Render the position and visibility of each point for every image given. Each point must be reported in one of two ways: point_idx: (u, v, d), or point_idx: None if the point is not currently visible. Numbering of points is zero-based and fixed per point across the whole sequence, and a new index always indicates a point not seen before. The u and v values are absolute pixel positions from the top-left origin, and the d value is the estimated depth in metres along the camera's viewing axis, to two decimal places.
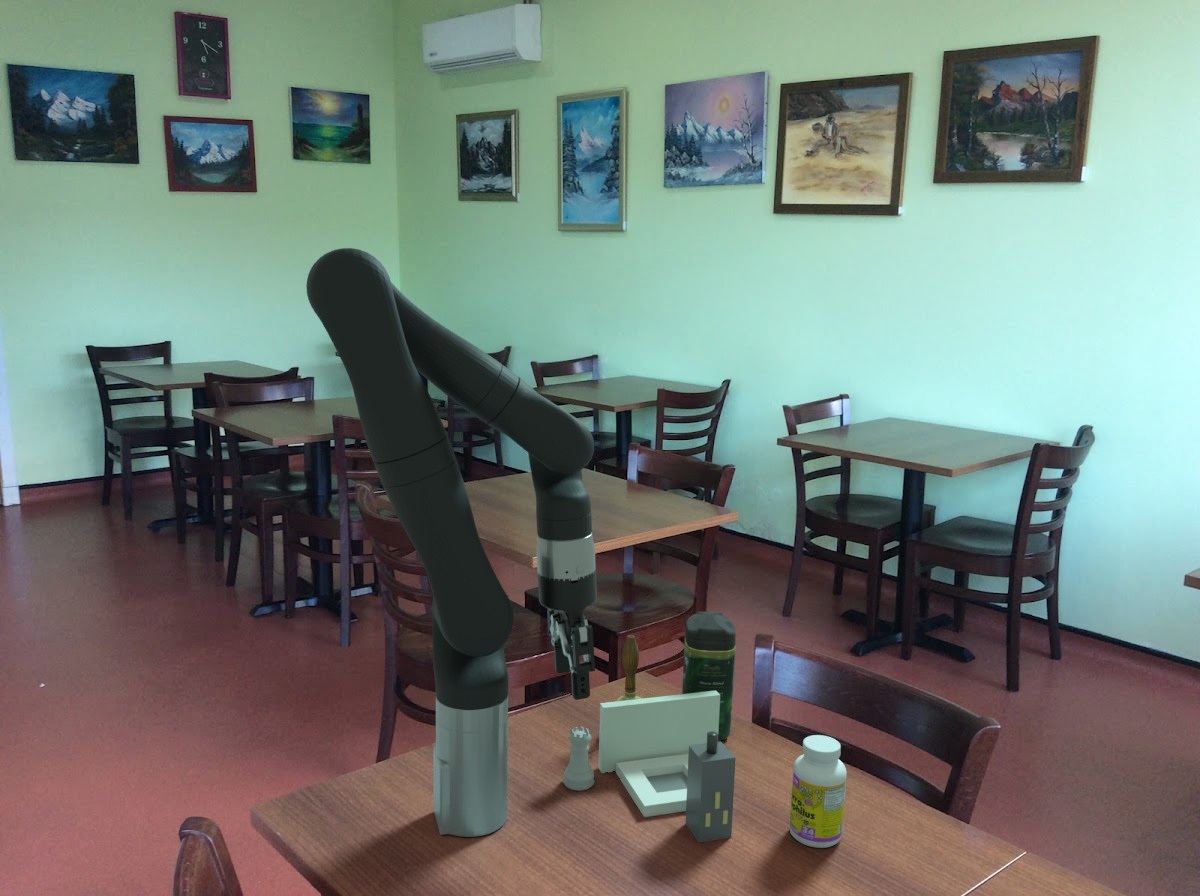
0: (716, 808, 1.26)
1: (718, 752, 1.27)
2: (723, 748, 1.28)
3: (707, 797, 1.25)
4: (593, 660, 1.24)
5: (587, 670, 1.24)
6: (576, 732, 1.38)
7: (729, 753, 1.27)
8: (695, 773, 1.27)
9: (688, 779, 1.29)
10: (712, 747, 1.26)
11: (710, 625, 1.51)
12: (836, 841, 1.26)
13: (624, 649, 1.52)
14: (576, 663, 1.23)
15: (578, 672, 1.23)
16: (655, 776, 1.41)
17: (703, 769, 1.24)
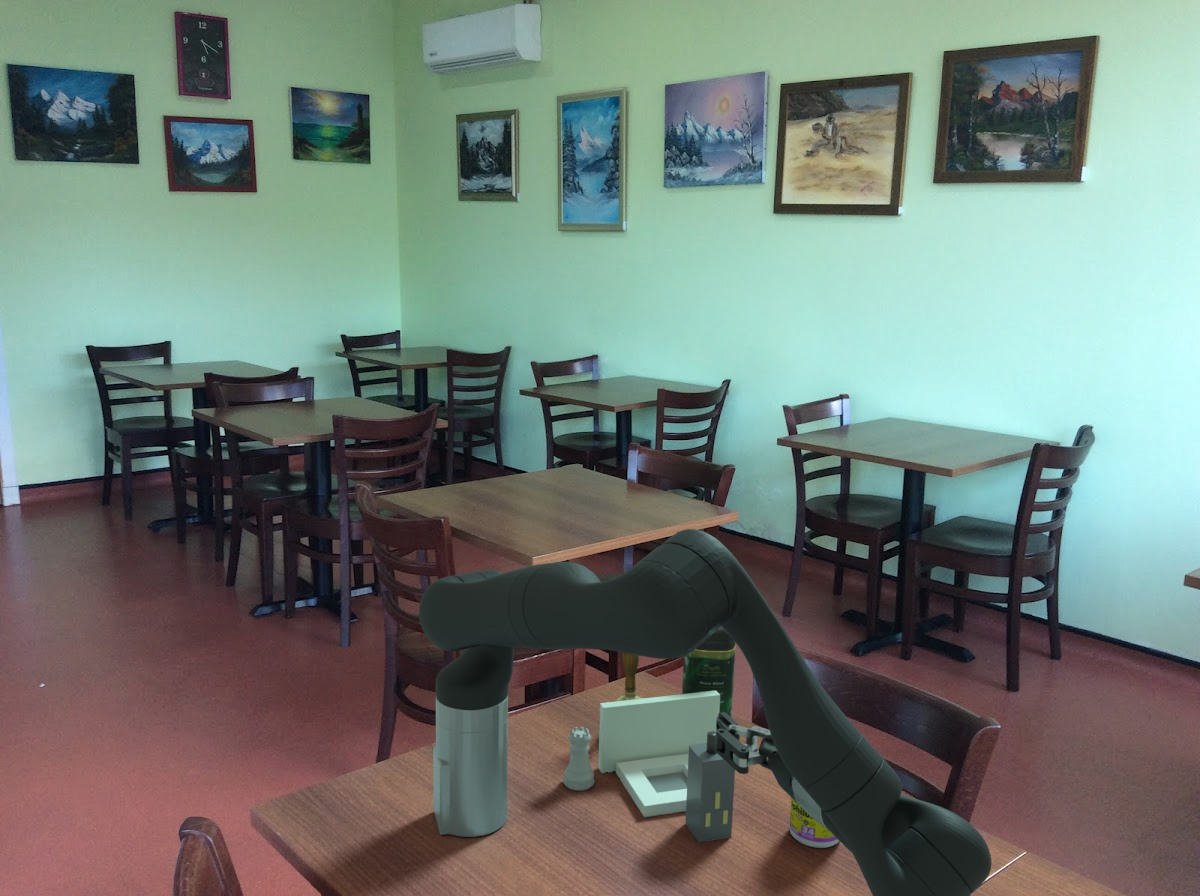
0: (716, 808, 1.26)
1: None
2: None
3: (707, 797, 1.25)
4: (720, 755, 1.08)
5: (716, 743, 1.09)
6: (576, 732, 1.38)
7: None
8: (695, 773, 1.27)
9: (688, 779, 1.29)
10: (712, 747, 1.26)
11: None
12: (836, 841, 1.26)
13: None
14: (721, 736, 1.08)
15: (716, 733, 1.09)
16: (655, 776, 1.41)
17: (703, 769, 1.24)
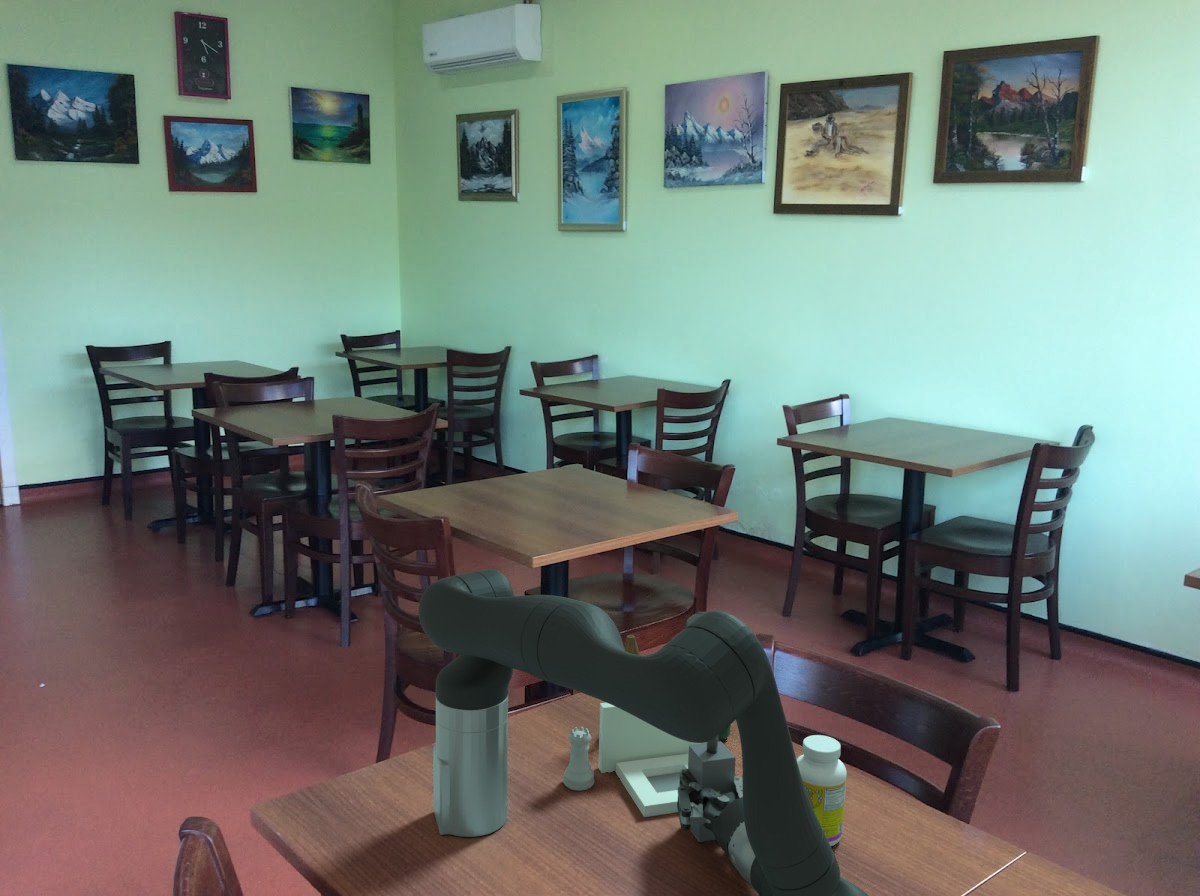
0: None
1: (718, 751, 1.27)
2: (723, 748, 1.28)
3: None
4: None
5: None
6: (576, 732, 1.38)
7: (729, 753, 1.27)
8: (695, 773, 1.27)
9: None
10: (712, 747, 1.26)
11: None
12: (836, 841, 1.26)
13: None
14: (679, 793, 1.23)
15: (678, 789, 1.24)
16: (655, 776, 1.41)
17: (703, 768, 1.24)
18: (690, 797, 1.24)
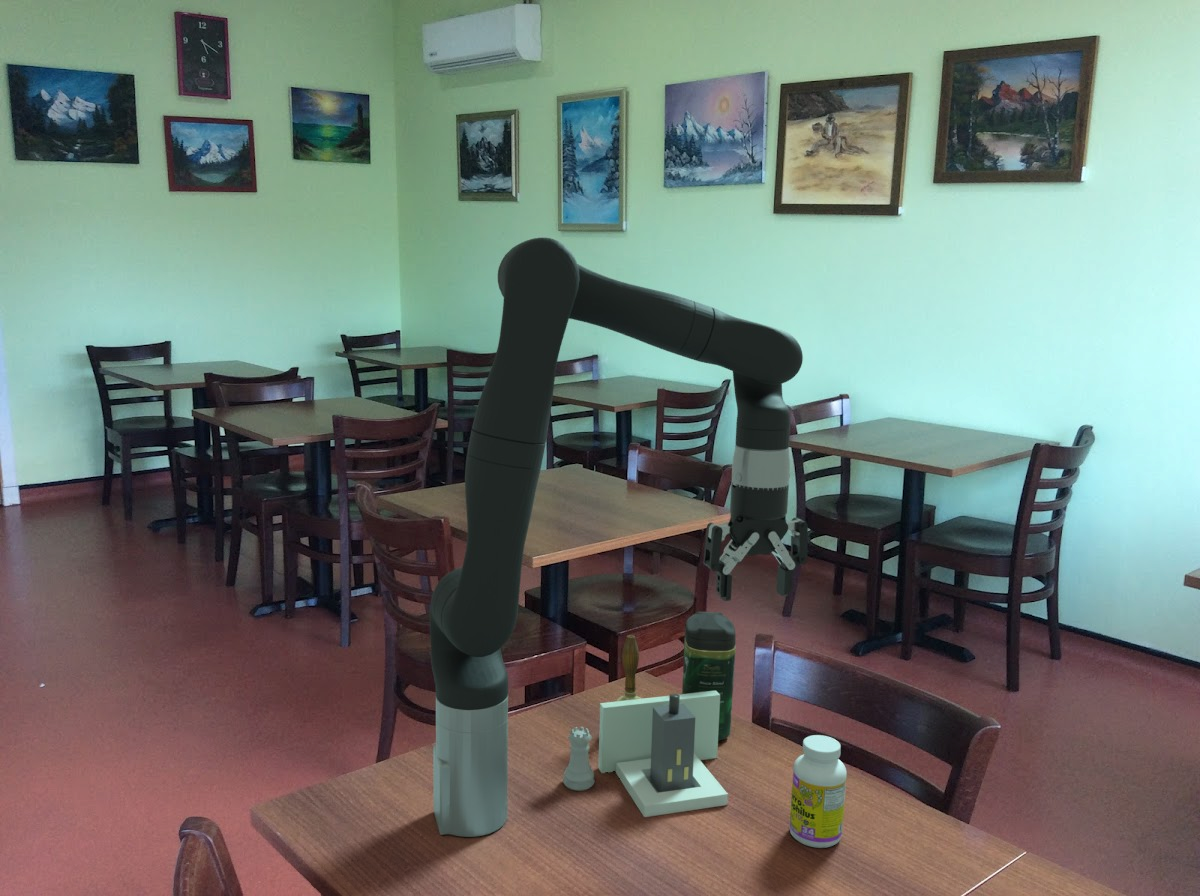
0: (678, 764, 1.36)
1: (680, 712, 1.37)
2: (685, 709, 1.38)
3: (669, 754, 1.35)
4: (710, 559, 1.30)
5: (708, 566, 1.31)
6: (576, 732, 1.38)
7: (690, 714, 1.37)
8: (658, 732, 1.36)
9: (652, 738, 1.39)
10: (674, 708, 1.36)
11: (710, 625, 1.51)
12: (836, 841, 1.26)
13: (624, 649, 1.52)
14: (704, 554, 1.32)
15: (704, 563, 1.33)
16: None
17: (665, 727, 1.34)
18: None
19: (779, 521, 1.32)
